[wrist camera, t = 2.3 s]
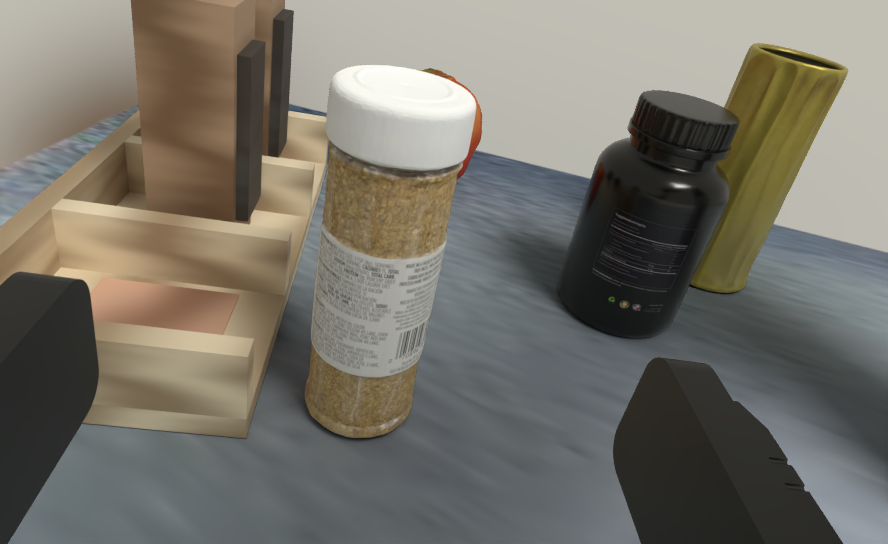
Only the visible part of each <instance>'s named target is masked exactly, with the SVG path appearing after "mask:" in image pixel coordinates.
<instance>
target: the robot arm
mask: <svg viewBox="0 0 888 544" xmlns="http://www.w3.org/2000/svg"><path fill="white" fill-rule="evenodd" d="M98 379H99V364H98V355H97V347H96V338H95V330H94V321H93V313H92V304H91V296H90V291H89V288H88V285H87V283H86V282H85V281H84V280H82V279H75V278H67V277H60V276H52V275H45V274H37V273H29V272H21V271H20V272H16V273H14V274H12V275H11V276H10V277H8V278H7V279H6V280H5V281H4V282H3V283H2V284H1V285H0V544H8V542H9V541H10V539H11V537H12V536H13V534H14V532H15V531H16V529H17V528H18V526H19V524H20V523H21V521H22V520H23V518H24V516H25V515H26V513H27V511H28V510H29V508H30V507H31V505H32V503H33V502H34V500H35V498H36V497H37V495H38V494H39V492H40V490H41V489H42V487H43V486H44V484H45V482H46V481H47V479H48V477H49V476H50V474H51V473H52V471H53V469H54V468H55V466H56V464H57V463H58V461H59V460H60V458H61V456H62V455H63V453H64V452H65V450H66V448H67V447H68V445H69V443H70V442H71V440H72V439H73V437H74V435H75V434H76V432H77V430H78V429H79V427H80V426H81V424H82V422H83V421H84V419H85V418H86V416H87V414H88V412H89V410H90V408H91V406H92V403H93V401H94V398H95V394H96V390H97V386H98ZM613 458H614V465H615V470H616V473H617V476H618V479H619V482H620V485H621V487H622V490H623V493H624V496H625V499H626V502H627V505H628V507H629V510H630V513H631V516H632V519H633V522H634V525H635V528H636V530H637V533H638V536H639V539H640V542H641V544H843V543H842V541H841V540H840V538H839V537H838V535H837V534H836V532H835V530H834V529H833V527H832V526H831V524H830V523H829V521H828V520H827V518H826V517H825V515H824V514H823V512H822V511H821V509H820V508H819V506H818V505H817V503H816V502H815V500H814V499H813V497H812V496H811V494H810V492H807V491H805V490H804V483H803V482H802V480H801V479H800V477H799V476H798V474H797V473H796V471H795V470H794V468H793V467H792V466H791V465H788V464H787V460H788V459H787V458H786V456H785V454H784V453H783V451H782V450H781V448H780V447H779V445H778V444H777V442H776V441H775V439H774V438H773V436H772V435H771V433H770V432H769V430H768V429H767V428H766V427H765V426H764V425H763V424H762V423H761V422H760V421H758V420H757V419H756V418H755V417H754V416H753V415H752V414H751V413H750V412H749V411H748V410H747V409H745V408H744V407H743V406H742V405H741V404H740V403H739V402H737V401H733V400H732V399H731V397H730V395H729V394H728V392H727V391H726V389H725V387H724V386H723V384H722V383H721V381H720V379H719V378H718V376H717V375H716V373H715V372H714V370H713V369H712V368H711V367H710V366H709V365H707V364H704V363H697V362H690V361H682V360H674V359H667V358H659V357H658V358H655V359H653V360H652V361H650V362H649V364H648V365H647V367H646V369H645V371H644V373H643V375H642V377H641V379H640V381H639V383H638V385H637V388H636V390H635V392H634V394H633V396H632V398H631V400H630V402H629V405H628V407H627V409H626V411H625V413H624V415H623V417H622V419H621V422H620V424H619V426H618V428H617V431H616V434H615V438H614V446H613Z"/></svg>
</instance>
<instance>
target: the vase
mask: <svg viewBox="0 0 888 544" xmlns="http://www.w3.org/2000/svg"><path fill="white" fill-rule="evenodd" d="M847 73H848V69H847V68H846V67H844V66H843V65H840V64H838V63H836V62H833V61H830V60H827V59H824V58H821V57H818V56H815V55H811V54H808V53H804V52H801V51H797V50H793V49H789V48H784V47H780V46H774V45H768V44H761V43H758V44H753V45H752V46H751V47H750V48H749V51H748V52H747V54H746V57H745V59H744V61H743V64H742V67H741V69H740V71H739V73H738V76H737V78H736V81H735V83H734V85H733V88H732V90H731V92H730V95H729V97H728V100H727V102H726V104H725V107H724V108H725V109H727V110H729V111H731V112H732V113H733V114H735V115H736V116H737V117H738V118H739V120H740V123H739V126H738V129H737V131H736V133H735V135H734V138H733V140H732V142H731V144H730V145H731V150H730V152H729V154H728V156H727V158H726V159H724V160H721V161H718V163H717V164H718V165H719V167H720V168H721V169H722V170H723V172H724V173H725V175H726V176H727V179H728V181H729V186H730V197H729V200H728V203H727V206H726V208H725V210H724V212H723V214H722V217H721V219H720V221H719V223H718V225H717V227H716V229H715V232H714V234H713V236H712V238H711V240H710V242H709V244H708V247H707V249H706V251H705V253H704V255H703V257H702V259H701V262H700V264H699V266H698V268H697V270H696V272H695V275H694V277H693V279H692V281H691V283H690V285H692V286H694V287H697V288H700V289H704V290H707V291H712V292H718V293H732V292H736V291H739V290H741V289H742V288H744V287H745V285H746V282H747V277H748V273H749V271H750V269H751V266H752V264H753V262H754V261H755V259H756V257H757V255H758V253H759V251H760V249H761V247H762V245H763V244H764V242H765V240H766V238H767V236H768V233H769V232H770V230H771V228H772V226H773V223H774V221H775V219H776V217H777V215H778V213H779V211H780V209H781V207H782V204H783V202H784V200H785V198H786V196H787V194H788V192H789V190H790V188H791V186H792V184H793V182H794V180H795V178H796V176H797V174H798V172H799V169H800V167H801V165H802V163H803V161H804V159H805V157H806V155H807V153H808V151H809V149H810V147H811V145H812V143H813V141H814V139H815V137H816V135H817V132H818V130H819V129H820V127H821V125H822V123H823V121H824V119H825V117H826V115H827V113H828V111H829V109H830V107H831V105H832V104H833V102H834V100H835V98H836V96H837V94H838V92H839V90H840V88H841V87H842V84H843V82H844V80H845V78H846V76H847Z"/></svg>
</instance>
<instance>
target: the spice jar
mask: <svg viewBox="0 0 888 544" xmlns="http://www.w3.org/2000/svg"><path fill="white" fill-rule="evenodd" d="M475 114H476V102H475V99H474V97H473V96H472V95H471V93H469V92H468V91H467V90H466V89H465V88H463V87H462V86H460V85H458V84H456V83H454V82H452V81H450V80H448V79H445V78H443V77H440V76H437V75H434V74H431V73H427V72H423V71H419V70H414V69H409V68H403V67H396V66H385V65H361V66H354V67H349V68H346V69H343V70H341V71H339V72H337V73H336V74H335V75H334V76H333V78H332V80H331V83H330V88H329V97H328V106H327V118H326V134H327V136H328V138H329V146H328V147H329V150H330V155H329V164H328V177H327V186H326V196H325V206H324V212H323V222H322V226H321V233H320V244H319V254H318V265H317V268H316V279H315V290H314V302H313V314H312V325H311V341H312V345H311V358H310V372H309V377H308V380H307V382H306V386H305V401H306V404H307V408H308V410H309V412H310V414H311V416H312V417H313V418H314V419H315V420H317V421H318V422H319V423H320V424H321V425H322V426H324V427H325V428H327V429H329V430H330V431H332V432H334V433H337V434H340V435H343V436H345V437H351V438H362V437H363V438H370V437H375V436H380V435H384V434H387V433H389V432H390V431H392V430H394V429H396V428H397V427H398V426H400V424H401V423H402V422H403V421H405V419H406V418H407V417H408V415H409V412H410V410H411V407H412V404H413V386H414V382H415V377H416V371H417V366H418V361H419V358H420V356H421V354H422V351H423V347H424V343H425V338H426V334H427V329H428V325H429V320H430V315H431V311H432V306H433V301H434V297H435V292H436V288H437V283H438V278H439V274H440V269H441V265H442V260H443V254H444V250H445V245H446V237H447V236H446V232H447V226H448V221H449V217H450V211H451V206H452V199H453V194H454V190H455V186H456V181H457V174H458V173H459V171H460V170H461V169H462V167H463V160H464V159H465V158H466V157H467V155H468V151H469V147H470V142H471V137H472V131H473V126H474V120H475Z"/></svg>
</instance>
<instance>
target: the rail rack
mask: <svg viewBox="0 0 888 544" xmlns="http://www.w3.org/2000/svg"><path fill="white" fill-rule="evenodd" d="M131 8H132V20H133V34H134V46H135V59H136V74H137V86H138V100H139V110H138V111H137V112H136V113H135V114H134V115H132V116H131V117H130V118H129V119H128V120H127V121H125V122H124V123H123V124H122V125H121V126H119V127H118V128H117V129H116V130H115V131H114V132H112V133H111V134H110V135H109V136H108V137H106V138H105V139H104V140H103V141H102V142H101V143H99V144H98V145H97V146H96V147H95V148H93V149H92V150H91V151H90V152H89V153H87V154H86V155H85V156H84V157H83V158H82V159H80V160H79V161H78V162H77V163H76V164H74V165H73V166H72V167H71V168H70V169H69V170H67V171H66V172H65V173H64V174H63V175H61V176H60V177H59V178H58V179H57V180H56V181H54V182H53V183H52V184H51V185H50V186H48V187H47V188H46V189H45V190H44V191H42V192H41V193H40V194H39V195H38V196H37V197H35V198H34V199H33V200H32V201H31V202H29V203H28V204H27V205H26V206H25V207H24V208H22V209H21V210H20V211H19V212H18V213H16V214H15V215H14V216H13V217H12V218H11V219H9V220H8V221H7V222H6V223H5V224H3V225H2V226H1V227H0V285H1V284H2V283H3V282H4V281H5V280H6V279H7V278H8V277H10V276H11V275H12V274H14V273H16V272H20V271H21V272H29V273H37V274H45V275H52V276H60V277H67V278H75V279H82V280H84V281H85V282H86V283H87V285H88V288H89V291H90V296H91V304H92V313H93V321H94V330H95V338H96V347H97V355H98V364H99V379H98V386H97V390H96V394H95V398H94V401H93V403H92V406H91V408H90V410H89V412H88V414H87V416H86V418H85V419H84V421H83V422H82V423H88V424H99V425H109V426H120V427H131V428H141V429H152V430H162V431H173V432H183V433H194V434H204V435H215V436H225V437H236V438H246V437H247V434H248V430H249V427H250V424H251V420H252V417H253V414H254V410H255V407H256V404H257V400H258V397H259V394H260V390H261V387H262V384H263V380H264V377H265V374H266V370H267V367H268V364H269V360H270V357H271V354H272V350H273V347H274V343H275V340H276V337H277V333H278V330H279V327H280V323H281V320H282V317H283V313H284V310H285V307H286V303H287V300H288V297H289V293H290V290H291V287H292V283H293V280H294V277H295V273H296V270H297V267H298V263H299V260H300V257H301V253H302V250H303V247H304V243H305V240H306V237H307V233H308V230H309V227H310V223H311V220H312V217H313V213H314V210H315V207H316V203H317V200H318V197H319V193H320V190H321V187H322V183H323V180H324V177H325V173H326V166H327V155H328V144H329V138H328V136H327V134H326V118H327V117H323V116H317V115H311V114H305V113H299V112H293V111H288V108H289V88H290V69H291V51H292V33H293V32H292V31H293V14H294V11H292V10H286V9H285V0H131Z"/></svg>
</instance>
